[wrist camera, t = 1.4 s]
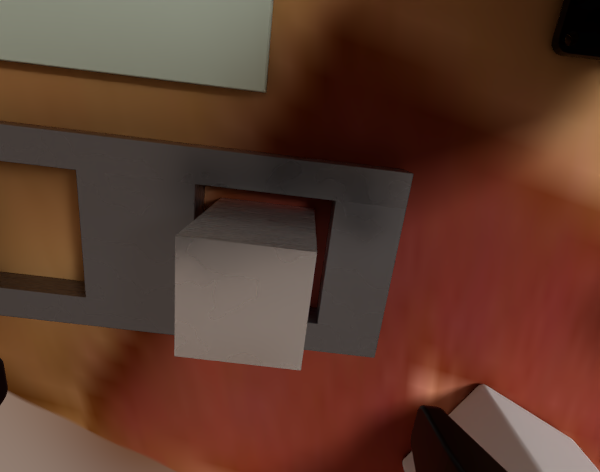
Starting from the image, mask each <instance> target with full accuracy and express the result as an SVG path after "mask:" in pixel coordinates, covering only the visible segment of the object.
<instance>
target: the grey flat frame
mask: <svg viewBox="0 0 600 472" xmlns="http://www.w3.org/2000/svg"><path fill="white" fill-rule="evenodd" d="M0 161H6V162H14V163H23V164H31V165H40V166H48V167H57V168H65V169H73V170H76V176H77V189H78V202H79V214H80V227H81V240H82V253H83V266H84V279H85V282H83V281H75V280H66V279H57V278H49V277H40V276H31V275H22V274H14V273H5V272H0V315H2V316H11V317H20V318H29V319H38V320H46V321H55V322H64V323H73V324H82V325H91V326H100V327H108V328H117V329H126V330H135V331H144V332H153V333H161V334H170V335H175V236H176V235H177V234H178V233H179V232H180V231H182V230H183V229H184V228H185V227H186V226H188V225H189V224H190V223H191V222H193V221H194V220H195V219H196V218H197V217H199V216H200V215H201V214H202V213H203V212H204V190H205V185H208V186H216V187H225V188H233V189H242V190H250V191H258V192H267V193H275V194H284V195H292V196H300V197H309V198H317V199H326V200H333V201H332V208H331V215H330V222H329V228H328V235H327V242H326V249H325V256H324V262H323V269H322V276H321V283H320V290H319V297H318V303H317V308H310V307H309V314H308V321H307V329H306V336H305V343H304V350H312V351H321V352H330V353H338V354H347V355H356V356H365V357H375V352H376V347H377V343H378V338H379V333H380V329H381V324H382V319H383V314H384V310H385V305H386V300H387V296H388V291H389V286H390V282H391V277H392V272H393V268H394V263H395V258H396V253H397V249H398V244H399V239H400V235H401V230H402V225H403V221H404V216H405V211H406V207H407V202H408V197H409V192H410V188H411V183H412V178H413V173H411V172H409V171H406V170H404V169H396V168H388V167H380V166H371V165H363V164H355V163H346V162H338V161H330V160H321V159H313V158H305V157H297V156H288V155H280V154H272V153H263V152H255V151H247V150H238V149H230V148H222V147H214V146H205V145H197V144H189V143H180V142H172V141H164V140H155V139H147V138H139V137H131V136H122V135H114V134H106V133H97V132H89V131H81V130H72V129H64V128H56V127H47V126H39V125H31V124H23V123H14V122H6V121H0Z"/></svg>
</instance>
